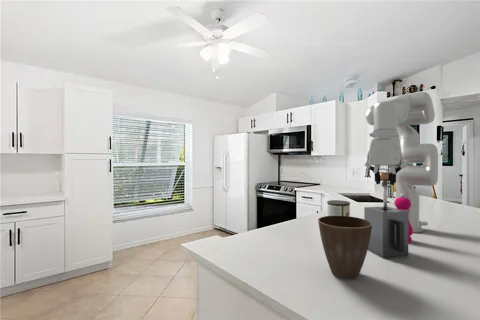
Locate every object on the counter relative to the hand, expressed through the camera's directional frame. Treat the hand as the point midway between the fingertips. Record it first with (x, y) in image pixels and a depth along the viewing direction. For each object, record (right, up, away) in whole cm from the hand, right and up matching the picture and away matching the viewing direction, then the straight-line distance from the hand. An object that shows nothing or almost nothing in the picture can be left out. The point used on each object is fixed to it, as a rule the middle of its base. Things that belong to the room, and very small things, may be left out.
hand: (385, 183), depth 92 cm
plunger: (0, -13, 0) cm, 13 cm away
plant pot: (-23, -26, -17) cm, 38 cm away
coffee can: (-6, -26, +28) cm, 39 cm away
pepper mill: (+15, -26, +13) cm, 33 cm away
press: (0, -25, -1) cm, 26 cm away
